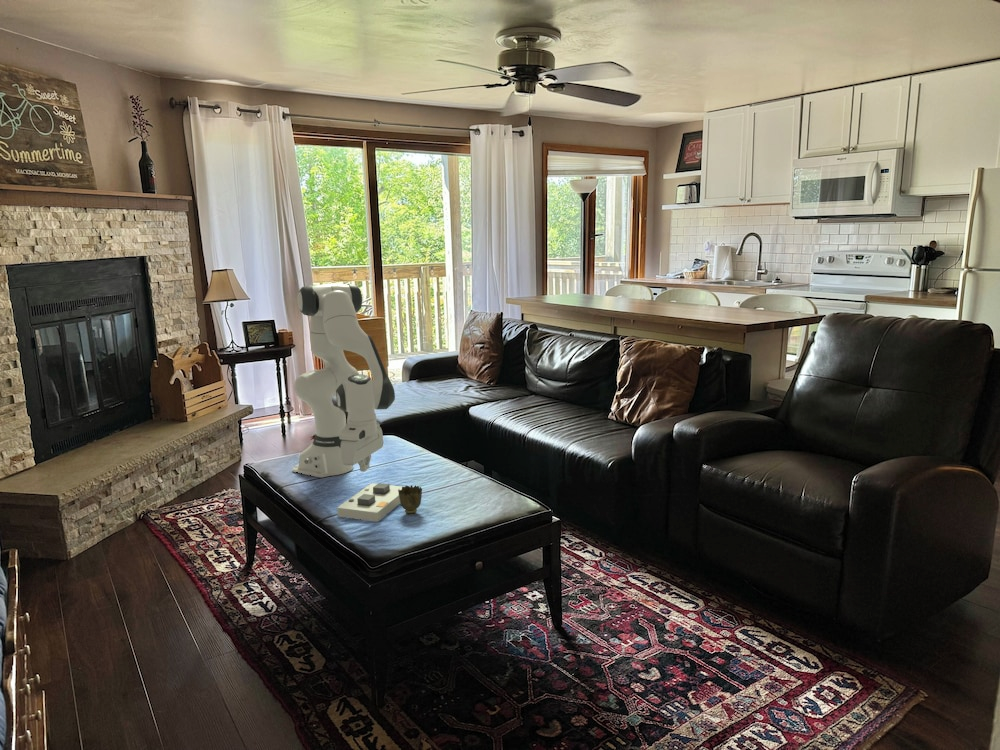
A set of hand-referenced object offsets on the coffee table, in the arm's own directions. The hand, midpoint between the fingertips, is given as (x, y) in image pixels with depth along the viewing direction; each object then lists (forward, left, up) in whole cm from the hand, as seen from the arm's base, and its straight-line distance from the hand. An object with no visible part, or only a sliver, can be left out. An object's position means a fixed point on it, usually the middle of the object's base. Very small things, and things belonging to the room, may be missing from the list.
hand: (364, 470), depth 206 cm
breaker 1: (0, 0, -12) cm, 12 cm away
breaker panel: (0, +5, -14) cm, 15 cm away
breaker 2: (0, +10, -12) cm, 16 cm away
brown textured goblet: (+14, +3, -14) cm, 20 cm away
